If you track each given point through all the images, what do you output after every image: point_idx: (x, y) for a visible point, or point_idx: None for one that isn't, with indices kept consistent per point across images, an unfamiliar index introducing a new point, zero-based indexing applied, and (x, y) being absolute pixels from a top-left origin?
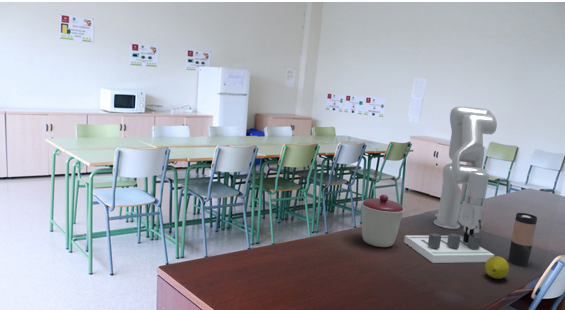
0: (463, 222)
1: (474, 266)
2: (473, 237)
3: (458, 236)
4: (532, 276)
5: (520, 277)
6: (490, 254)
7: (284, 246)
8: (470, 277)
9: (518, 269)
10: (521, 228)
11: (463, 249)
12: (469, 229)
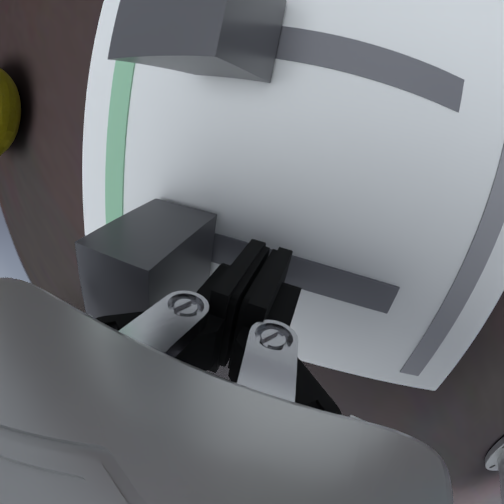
0: (195, 432)
1: (82, 85)
2: (83, 242)
3: (116, 25)
4: (30, 274)
5: (17, 220)
6: None
7: None
8: (35, 3)
9: (64, 289)
10: None
11: (179, 119)
12: (131, 336)
